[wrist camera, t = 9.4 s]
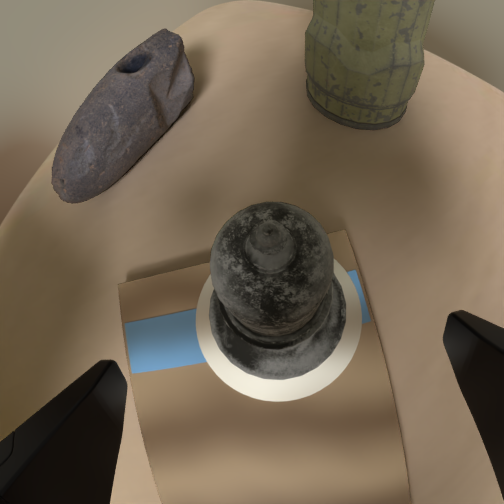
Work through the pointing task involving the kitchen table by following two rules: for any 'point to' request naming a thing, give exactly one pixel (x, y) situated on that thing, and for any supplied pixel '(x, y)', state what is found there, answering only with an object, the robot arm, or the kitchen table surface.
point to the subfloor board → (260, 404)
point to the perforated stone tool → (123, 117)
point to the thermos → (365, 59)
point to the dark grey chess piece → (275, 292)
